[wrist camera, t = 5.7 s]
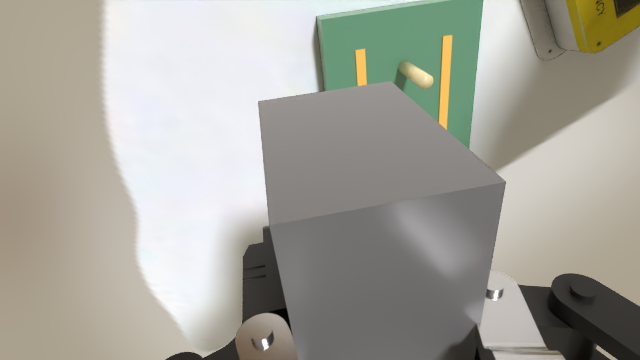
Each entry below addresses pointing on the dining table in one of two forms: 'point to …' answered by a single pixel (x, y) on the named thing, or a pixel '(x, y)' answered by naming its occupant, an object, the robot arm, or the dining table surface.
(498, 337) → the robot arm
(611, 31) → the emergency button
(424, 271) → the block
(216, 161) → the dining table surface
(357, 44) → the header board
